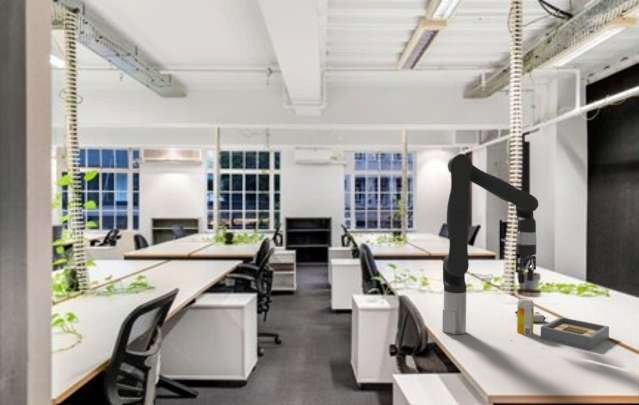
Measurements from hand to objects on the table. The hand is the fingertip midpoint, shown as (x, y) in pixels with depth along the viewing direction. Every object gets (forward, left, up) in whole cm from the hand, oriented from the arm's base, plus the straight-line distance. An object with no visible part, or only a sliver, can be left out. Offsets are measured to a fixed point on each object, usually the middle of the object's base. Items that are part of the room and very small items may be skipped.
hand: (525, 281), depth 184 cm
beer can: (0, 0, -23) cm, 22 cm away
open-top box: (+9, -16, -22) cm, 29 cm away
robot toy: (+24, +8, -23) cm, 34 cm away
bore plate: (+9, -16, -21) cm, 28 cm away
